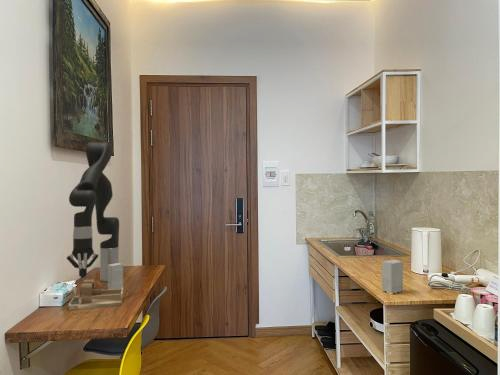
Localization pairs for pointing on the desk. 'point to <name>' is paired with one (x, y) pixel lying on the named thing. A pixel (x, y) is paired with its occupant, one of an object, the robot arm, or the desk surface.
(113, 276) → the skincare box
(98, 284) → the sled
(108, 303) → the tunnel board
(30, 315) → the desk surface
